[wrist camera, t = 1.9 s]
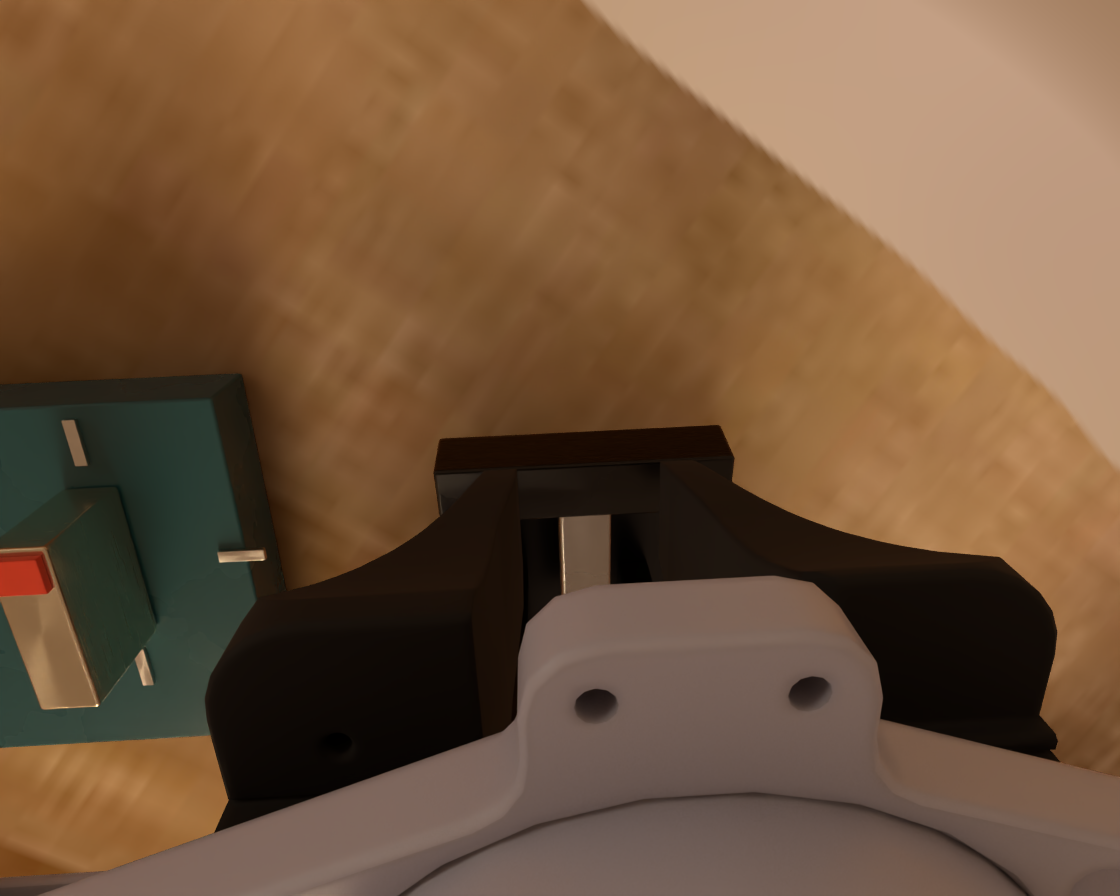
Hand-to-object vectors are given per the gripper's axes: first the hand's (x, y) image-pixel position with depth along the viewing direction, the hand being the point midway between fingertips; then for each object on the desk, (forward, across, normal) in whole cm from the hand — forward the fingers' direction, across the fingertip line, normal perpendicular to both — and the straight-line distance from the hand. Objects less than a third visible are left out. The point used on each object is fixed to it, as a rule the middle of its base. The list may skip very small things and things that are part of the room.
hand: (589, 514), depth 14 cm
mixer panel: (+10, +15, +6) cm, 19 cm away
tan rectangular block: (+8, +14, +5) cm, 17 cm away
